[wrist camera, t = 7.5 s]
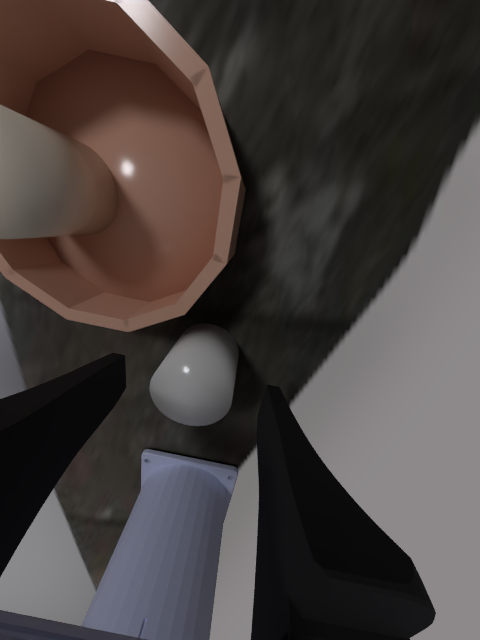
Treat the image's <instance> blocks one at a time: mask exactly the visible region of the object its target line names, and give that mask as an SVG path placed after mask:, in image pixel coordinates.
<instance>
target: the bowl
mask: <svg viewBox="0 0 480 640" xmlns="http://www.w3.org/2000/svg"><path fill="white" fill-rule="evenodd" d="M0 105H2V106H4V107H6V108H9V109H11V110H13V111H15V112H17V113H19V114H22V115H24V116H26V117H28V118H30V119H32V120H34V121H37V122H39V123H41V124H43V125H45V126H47V127H50V128H52V129H54V130H56V131H58V132H60V133H62V134H65V135H67V136H69V137H71V138H73V139H75V140H78V141H80V142H82V143H84V144H86V145H87V146H89V147H90V148H91V149H93V150H94V151H95V152H96V153H97V154H98V155H99V156H100V157H101V158H102V159H103V161H104V162H105V163H106V165H107V166H108V168H109V170H110V172H111V174H112V176H113V178H114V181H115V184H116V188H117V195H118V206H117V211H116V215H115V217H114V219H113V221H112V223H111V224H110V225H109V226H108V227H107V228H106V229H105V230H103V231H101V232H100V233H96V234H91V235H74V236H57V237H40V238H23V239H0V271H1V272H2V274H3V275H4V276H5V278H7V279H8V280H10V281H11V282H13V283H14V284H16V285H17V286H19V287H20V288H21V289H23V290H24V291H26V292H27V293H29V294H30V295H32V296H33V297H35V298H36V299H38V300H39V301H41V302H42V303H43V304H45V305H46V306H48V307H49V308H51V309H52V310H54V311H55V312H57V313H58V314H60V315H61V316H63V317H64V318H66V319H68V320H72V321H77V322H82V323H87V324H92V325H97V326H102V327H106V328H111V329H116V330H121V331H126V332H131V331H134V330H137V329H140V328H143V327H147V326H150V325H153V324H156V323H160V322H163V321H166V320H169V319H172V318H176V317H179V316H182V315H185V314H186V313H187V311H188V310H189V309H190V308H191V307H192V305H193V304H194V303H195V302H196V301H197V299H198V298H199V297H200V296H201V295H202V293H203V292H204V291H205V290H206V288H207V287H208V286H209V285H210V284H211V282H212V281H213V280H214V279H215V278H216V276H217V275H218V274H219V273H220V272H221V270H222V269H223V268H224V267H225V266H226V264H227V263H228V262H229V261H230V259H231V258H232V257H233V256H234V254H235V249H236V243H237V237H238V231H239V226H240V220H241V214H242V208H243V203H244V197H245V191H246V189H245V186H244V182H243V179H242V175H241V172H240V169H239V165H238V162H237V158H236V155H235V151H234V148H233V145H232V141H231V138H230V134H229V131H228V128H227V124H226V121H225V117H224V114H223V111H222V108H221V104H220V101H219V98H218V95H217V92H216V89H215V86H214V82H213V79H212V76H211V73H210V70H209V67H208V65H207V64H206V63H205V62H204V61H203V60H202V59H201V58H200V57H199V56H198V55H197V53H196V52H195V51H194V50H193V49H192V48H191V47H190V46H189V45H188V44H187V42H186V41H185V40H184V39H183V38H182V37H181V36H180V35H179V34H178V33H177V31H176V30H175V29H174V28H173V27H172V26H171V25H170V24H169V23H168V22H167V20H166V19H165V18H164V17H163V16H162V15H161V14H160V13H159V12H158V11H157V10H156V8H155V7H154V6H153V5H152V4H151V3H150V2H149V1H148V0H0Z"/></svg>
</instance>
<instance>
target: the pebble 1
mask: <svg viewBox="0 0 480 640" xmlns="http://www.w3.org/2000/svg"><path fill="white" fill-rule="evenodd" d="M117 206H118V195H117V188H116V184H115V181H114V178H113V176H112V174H111V172H110V170H109V168H108V166H107V165H106V163H105V162H104V161H103V159H102V158H101V157H100V156H99V155H98V154H97V153H96V152H95V151H94V150H93V149H91V148H90V147H89V146H87V145H86V144H84V143H82V142H80V141H78V140H75V139H73V138H71V137H69V136H67V135H65V134H62V133H60V132H58V131H56V130H54V129H52V128H50V127H47V126H45V125H43V124H41V123H39V122H37V121H34V120H32V119H30V118H28V117H26V116H24V115H22V114H19V113H17V112H15V111H13V110H11V109H9V108H6V107H4V106H2V105H0V239H23V238H40V237H57V236H74V235H91V234H96V233H100V232H101V231H103V230H105V229H106V228H107V227H108V226H109V225H110V224H111V223H112V221H113V219H114V217H115V215H116V211H117Z"/></svg>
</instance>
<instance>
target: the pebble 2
mask: <svg viewBox="0 0 480 640" xmlns="http://www.w3.org/2000/svg"><path fill="white" fill-rule="evenodd" d="M238 358H239V348H238V345H237V342H236V340H235V339H234V337H233V336H232V335H231V334H230V333H229V332H228V331H227V330H225V329H224V328H222V327H220V326H217V325H214V324H206V323H203V324H197V325H194V326H191V327H190V328H188V329H187V330H185V331H184V332H183V334H182V335H181V336H180V338H179V339H178V341H177V342H176V343H175V345H174V346H173V348H172V349H171V351H170V352H169V353H168V355H167V356H166V358H165V359H164V361H163V362H162V363H161V365H160V366H159V368H158V369H157V371H156V372H155V373H154V375H153V377H152V379H151V382H150V394H151V397H152V400H153V402H154V404H155V405H156V407H157V408H158V409H159V410H160V411H161V412H162V413H163V414H164V415H166V416H167V417H168V418H170V419H172V420H174V421H176V422H179V423H181V424H185V425H190V426H204V425H209V424H213V423H215V422H217V421H219V420H220V419H222V418H223V417H224V416H225V415H226V414H227V413H228V411H229V409H230V407H231V404H232V398H233V391H234V385H235V378H236V371H237V365H238Z"/></svg>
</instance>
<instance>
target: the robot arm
mask: <svg viewBox="0 0 480 640" xmlns="http://www.w3.org/2000/svg"><path fill="white" fill-rule="evenodd" d="M125 388H126V370H125V355H121V354H116V353H112V354H109V355H107V356H104V357H102V358H100V359H98V360H96V361H93V362H91V363H89V364H87V365H85V366H83V367H80V368H78V369H76V370H74V371H72V372H69V373H67V374H65V375H62V376H60V377H58V378H55V379H53V380H50V381H48V382H46V383H43V384H41V385H38V386H36V387H33V388H31V389H28V390H25V391H22V392H20V393H17V394H14V395H11V396H8V397H5V398H3V399H0V577H1V575H2V573H3V571H4V570H5V568H6V566H7V564H8V563H9V561H10V559H11V557H12V556H13V554H14V552H15V550H16V549H17V547H18V545H19V543H20V542H21V540H22V538H23V537H24V535H25V533H26V531H27V530H28V528H29V527H30V525H31V523H32V522H33V520H34V519H35V517H36V515H37V513H38V512H39V510H40V509H41V507H42V505H43V504H44V502H45V501H46V499H47V498H48V496H49V495H50V493H51V491H52V490H53V488H54V487H55V485H56V484H57V482H58V481H59V479H60V478H61V476H62V475H63V473H64V472H65V470H66V469H67V467H68V466H69V464H70V463H71V461H72V460H73V458H74V457H75V456H76V454H77V453H78V452H79V450H80V449H81V448H82V446H83V445H84V444H85V443H86V441H87V440H88V439H89V438H90V436H91V435H92V434H93V433H94V431H95V430H96V429H97V428H98V426H99V425H100V424H101V423H102V421H103V420H104V419H105V418H106V416H107V415H108V414H109V413H110V411H111V410H112V409H113V407H114V406H115V405H116V403H117V401H118V400H119V398H120V397H121V395H122V393H123V392H124V390H125ZM257 453H258V475H259V514H258V536H257V557H256V573H255V590H254V605H253V619H252V633H251V640H410V639H409V638H410V637H412V636H414V635H416V634H417V633H419V632H420V631H422V630H424V629H426V628H427V627H428V626H430V625H431V624H432V623H433V620H434V618H435V614H436V612H435V610H434V607H433V605H432V603H431V600H430V598H429V596H428V594H427V591H426V589H425V587H424V584H423V582H422V580H421V578H420V576H419V574H418V572H417V570H416V568H415V566H414V564H413V562H412V560H411V558H410V557H409V556H408V555H407V554H406V553H405V552H404V551H403V550H402V549H401V548H400V547H399V546H398V545H397V544H396V543H395V542H394V541H393V540H392V539H391V538H390V537H389V536H388V535H387V534H386V533H385V532H384V531H383V530H381V528H379V526H378V525H377V524H376V523H375V522H374V521H373V520H372V519H371V518H370V517H369V516H368V515H367V514H366V513H365V512H364V510H363V509H362V508H361V507H360V506H359V505H358V504H357V503H356V502H355V501H354V499H353V498H352V497H351V496H350V495H349V494H348V493H347V491H346V490H345V489H344V488H343V487H342V485H341V484H340V483H339V482H338V481H337V479H336V478H335V477H334V476H333V474H332V473H331V472H330V471H329V469H328V468H327V467H326V465H325V464H324V463H323V461H322V460H321V458H320V457H319V456H318V454H317V453H316V451H315V450H314V448H313V447H312V445H311V444H310V442H309V441H308V439H307V438H306V436H305V434H304V433H303V431H302V429H301V428H300V426H299V424H298V422H297V420H296V419H295V417H294V415H293V413H292V411H291V409H290V407H289V405H288V404H287V402H286V399H285V397H284V395H283V393H282V391H281V389H280V388H279V387H276V386H271V385H267V387H266V390H265V393H264V397H263V400H262V403H261V406H260V410H259V413H258V423H257ZM237 476H238V469H237V468H236V467H234V466H230V465H225V464H220V463H215V462H210V461H205V460H200V459H196V458H191V457H186V456H181V455H176V454H171V453H166V452H161V451H156V450H151V449H146V450H144V451H143V453H142V467H141V492H140V494H139V496H138V498H137V501H136V503H135V505H134V507H133V510H132V512H131V514H130V516H129V519H128V521H127V523H126V525H125V528H124V530H123V532H122V534H121V537H120V539H119V541H118V543H117V546H116V548H115V550H114V553H113V555H112V557H111V559H110V562H109V564H108V566H107V568H106V571H105V573H104V575H103V577H102V580H101V582H100V584H99V586H98V589H97V591H96V593H95V595H94V598H93V600H92V602H91V605H90V607H89V609H88V611H87V614H86V616H85V618H84V620H83V623H82V625H81V626H77V625H72V624H67V623H62V622H57V621H52V620H47V619H42V618H37V617H32V616H27V615H21V614H16V613H12V612H7V611H2V610H0V640H209V638H210V629H211V621H212V613H213V604H214V596H215V587H216V579H217V571H218V562H219V554H220V544H221V537H222V529H223V523H224V519H225V516H226V512H227V509H228V506H229V503H230V499H231V496H232V492H233V489H234V486H235V482H236V479H237Z"/></svg>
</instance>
